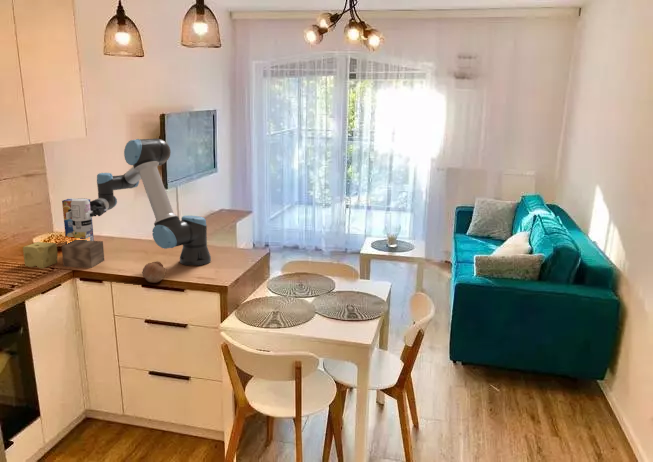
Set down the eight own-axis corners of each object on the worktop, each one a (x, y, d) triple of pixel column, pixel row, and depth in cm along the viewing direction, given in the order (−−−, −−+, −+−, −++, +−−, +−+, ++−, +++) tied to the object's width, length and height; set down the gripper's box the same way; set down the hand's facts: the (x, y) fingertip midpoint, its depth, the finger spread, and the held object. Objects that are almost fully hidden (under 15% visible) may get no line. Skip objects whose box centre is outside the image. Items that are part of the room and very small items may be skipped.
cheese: (43, 268, 242) (41, 248, 240) (23, 266, 244) (21, 246, 242) (58, 262, 252) (56, 242, 250) (39, 260, 254) (37, 240, 252)
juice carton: (94, 241, 289) (90, 199, 283) (86, 245, 282) (82, 201, 276) (74, 240, 291) (70, 198, 285) (66, 243, 284) (61, 200, 278)
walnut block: (104, 260, 257) (102, 241, 254) (91, 268, 245) (90, 247, 243) (77, 259, 258) (75, 239, 256) (63, 266, 246) (61, 246, 244)
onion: (162, 285, 233) (170, 265, 234) (156, 287, 224) (166, 265, 224) (142, 277, 233) (151, 257, 233) (136, 279, 223) (145, 257, 224)
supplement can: (73, 228, 250) (71, 198, 247) (92, 227, 253) (89, 197, 250) (72, 232, 243) (69, 201, 239) (91, 231, 246) (89, 200, 242)
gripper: (119, 214, 264) (99, 225, 242) (78, 212, 265) (54, 223, 243) (118, 200, 262) (98, 209, 240) (77, 198, 263) (53, 207, 241)
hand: (76, 216), depth 242 cm, fingers closed on supplement can, 8 cm apart
